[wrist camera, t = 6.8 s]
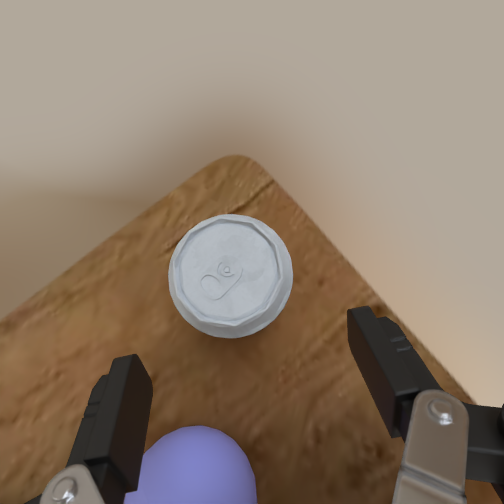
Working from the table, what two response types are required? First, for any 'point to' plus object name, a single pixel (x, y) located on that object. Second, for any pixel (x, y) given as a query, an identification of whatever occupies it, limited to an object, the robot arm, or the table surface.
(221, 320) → the beer can
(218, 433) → the sphere
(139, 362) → the robot arm
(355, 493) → the table surface
